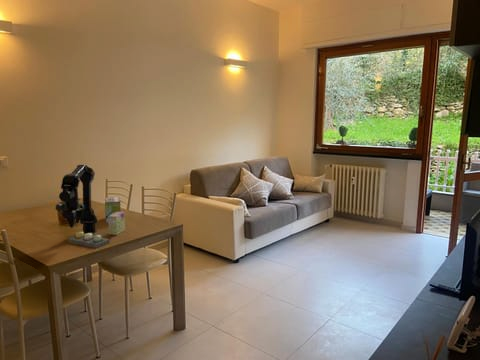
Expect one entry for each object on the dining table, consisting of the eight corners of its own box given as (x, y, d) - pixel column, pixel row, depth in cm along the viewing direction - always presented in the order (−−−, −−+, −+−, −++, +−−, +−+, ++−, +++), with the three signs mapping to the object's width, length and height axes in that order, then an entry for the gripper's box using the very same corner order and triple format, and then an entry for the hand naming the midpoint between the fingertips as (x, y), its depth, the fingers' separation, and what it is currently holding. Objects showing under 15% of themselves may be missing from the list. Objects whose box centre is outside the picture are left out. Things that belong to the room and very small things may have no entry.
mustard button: (80, 235, 210) (80, 230, 210) (85, 236, 208) (85, 231, 208) (74, 237, 206) (73, 233, 206) (79, 239, 205) (79, 234, 204)
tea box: (121, 221, 246) (120, 200, 243) (106, 223, 242) (104, 202, 239) (120, 216, 259) (119, 196, 257) (105, 217, 256) (104, 197, 253)
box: (117, 229, 229) (116, 211, 227) (125, 230, 228) (124, 212, 226) (108, 234, 218) (107, 216, 216) (117, 235, 218) (116, 216, 216)
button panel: (82, 236, 214) (82, 233, 214) (109, 242, 205) (109, 239, 204) (68, 241, 205) (67, 238, 205) (95, 248, 196) (95, 244, 195)
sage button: (97, 239, 204) (97, 234, 204) (103, 240, 202) (102, 235, 202) (91, 241, 201) (91, 236, 200) (97, 242, 199) (97, 237, 198)
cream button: (88, 237, 207) (88, 232, 207) (94, 238, 205) (93, 233, 205) (83, 239, 203) (82, 234, 203) (88, 240, 202) (87, 235, 201)
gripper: (63, 194, 203) (65, 220, 206) (49, 201, 185) (52, 230, 188) (83, 193, 204) (85, 220, 207) (72, 201, 186) (74, 230, 189)
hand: (74, 225), depth 198 cm, fingers open, 9 cm apart
